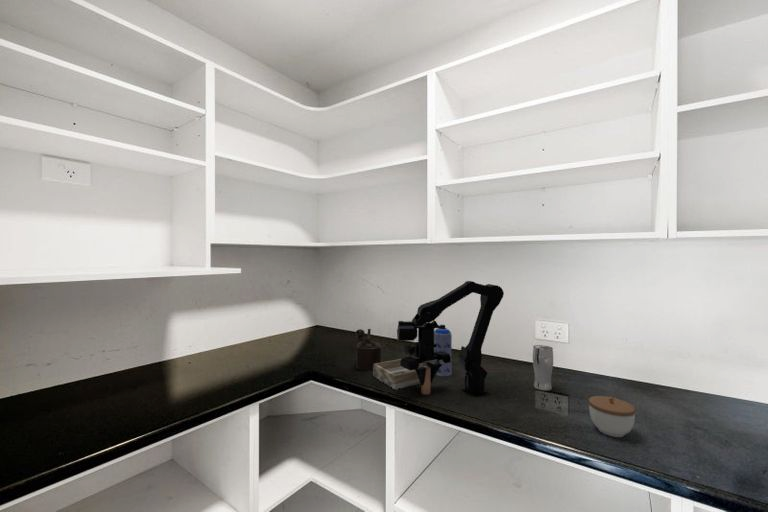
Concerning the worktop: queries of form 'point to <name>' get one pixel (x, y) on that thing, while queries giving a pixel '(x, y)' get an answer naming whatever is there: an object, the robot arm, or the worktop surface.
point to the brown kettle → (366, 351)
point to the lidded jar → (612, 415)
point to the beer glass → (543, 366)
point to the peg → (426, 381)
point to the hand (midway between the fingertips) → (425, 384)
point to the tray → (395, 374)
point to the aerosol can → (443, 348)
